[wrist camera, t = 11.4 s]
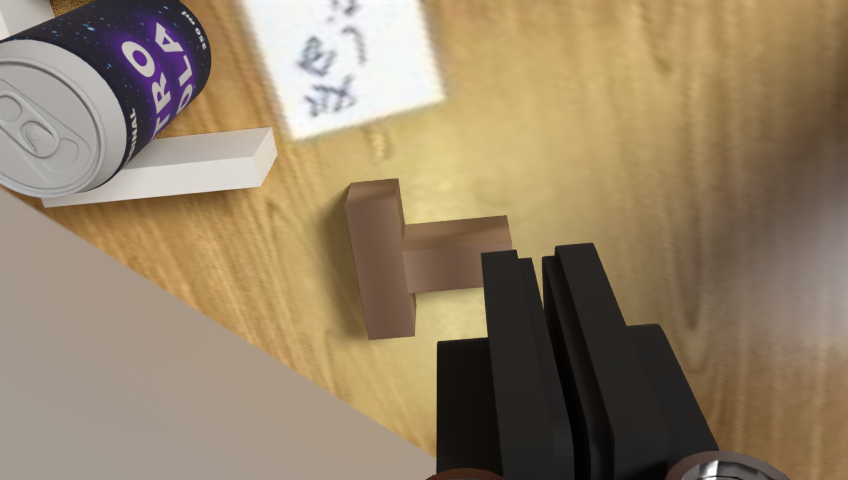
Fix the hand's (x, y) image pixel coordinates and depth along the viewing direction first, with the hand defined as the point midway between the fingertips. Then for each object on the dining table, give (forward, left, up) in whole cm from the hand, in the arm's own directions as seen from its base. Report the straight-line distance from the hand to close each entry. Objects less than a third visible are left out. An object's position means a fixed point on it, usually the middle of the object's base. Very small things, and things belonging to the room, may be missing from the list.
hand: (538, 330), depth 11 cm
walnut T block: (+3, +12, -25) cm, 28 cm away
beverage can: (+15, 0, -25) cm, 29 cm away
